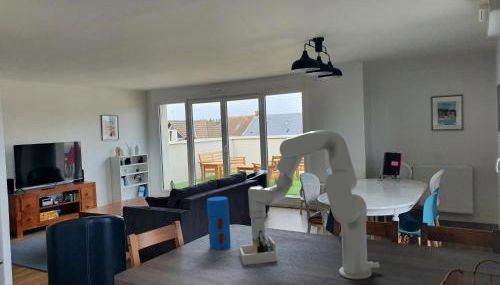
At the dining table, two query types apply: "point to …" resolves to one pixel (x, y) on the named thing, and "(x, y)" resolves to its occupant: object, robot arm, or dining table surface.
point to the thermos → (218, 223)
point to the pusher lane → (257, 254)
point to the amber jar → (257, 245)
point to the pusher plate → (268, 247)
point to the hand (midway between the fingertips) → (259, 251)
